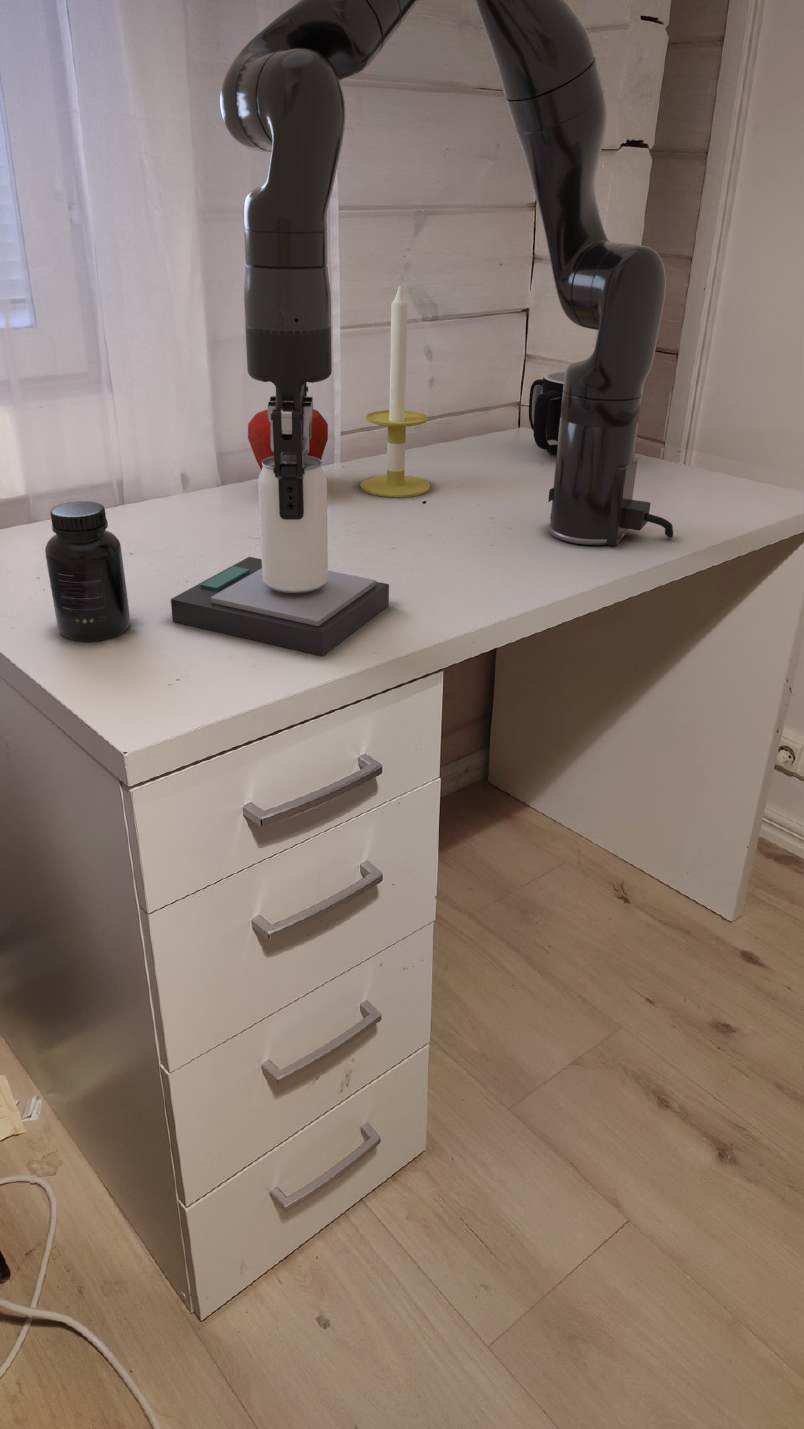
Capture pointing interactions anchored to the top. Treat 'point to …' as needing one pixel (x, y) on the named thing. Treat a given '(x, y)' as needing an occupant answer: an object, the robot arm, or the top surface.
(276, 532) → the can
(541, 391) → the mug
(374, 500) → the top surface
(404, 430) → the candle
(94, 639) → the supplement bottle
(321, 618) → the scale
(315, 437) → the apple
